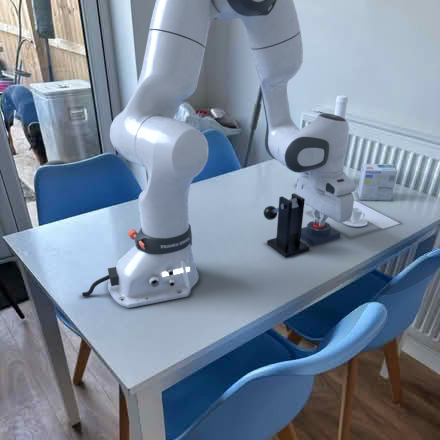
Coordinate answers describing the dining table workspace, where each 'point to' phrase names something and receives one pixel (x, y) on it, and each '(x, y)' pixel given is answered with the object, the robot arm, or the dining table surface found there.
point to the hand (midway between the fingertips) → (319, 224)
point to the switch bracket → (289, 228)
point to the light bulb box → (377, 181)
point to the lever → (272, 212)
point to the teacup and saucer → (357, 215)
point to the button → (318, 226)
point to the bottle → (341, 108)
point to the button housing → (318, 234)
